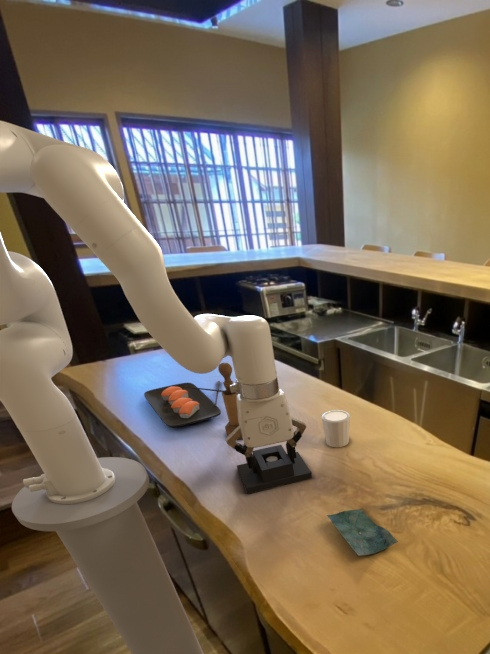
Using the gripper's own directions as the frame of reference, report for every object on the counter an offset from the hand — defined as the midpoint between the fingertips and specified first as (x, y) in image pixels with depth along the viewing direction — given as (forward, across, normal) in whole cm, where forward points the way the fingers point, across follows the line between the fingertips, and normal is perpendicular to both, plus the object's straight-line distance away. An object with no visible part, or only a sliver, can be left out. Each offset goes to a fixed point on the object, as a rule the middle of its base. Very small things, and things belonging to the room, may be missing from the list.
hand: (273, 465), depth 92 cm
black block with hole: (+1, 0, 0) cm, 1 cm away
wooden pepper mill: (+3, -3, +23) cm, 23 cm away
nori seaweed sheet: (+3, +9, -27) cm, 29 cm away
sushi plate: (+3, -7, +47) cm, 48 cm away
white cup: (+3, +18, +8) cm, 20 cm away
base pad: (+2, 0, 0) cm, 2 cm away
